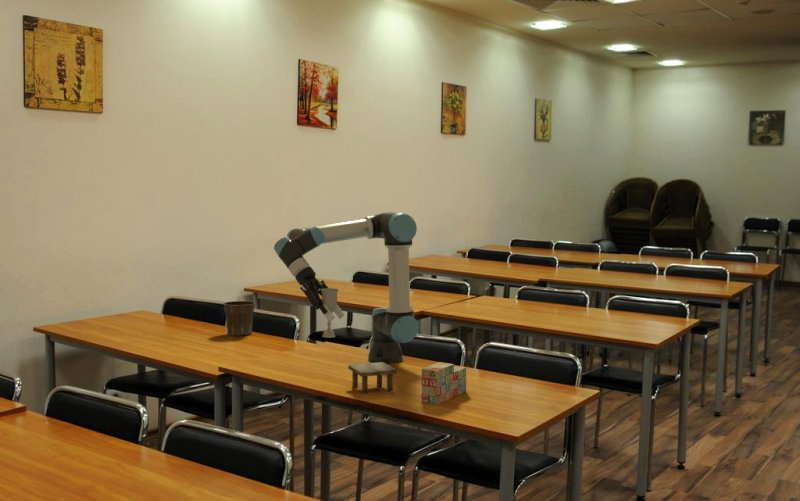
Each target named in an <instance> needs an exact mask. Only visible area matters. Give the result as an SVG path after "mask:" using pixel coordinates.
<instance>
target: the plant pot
mask: <svg viewBox="0 0 800 501" xmlns="http://www.w3.org/2000/svg"><path fill="white" fill-rule="evenodd" d="M255 305H256V302H255V301H252V300H251V301H248V300H235V301H233V300H232V301H226V302H223V307H224V308H223V309H224V312H225V318H226V322H225V323H226V332H227V335H228V336H233V337H234V336H235V337H240V336H250V335H251V334H252V332H253V319H254V311H255Z"/></svg>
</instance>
